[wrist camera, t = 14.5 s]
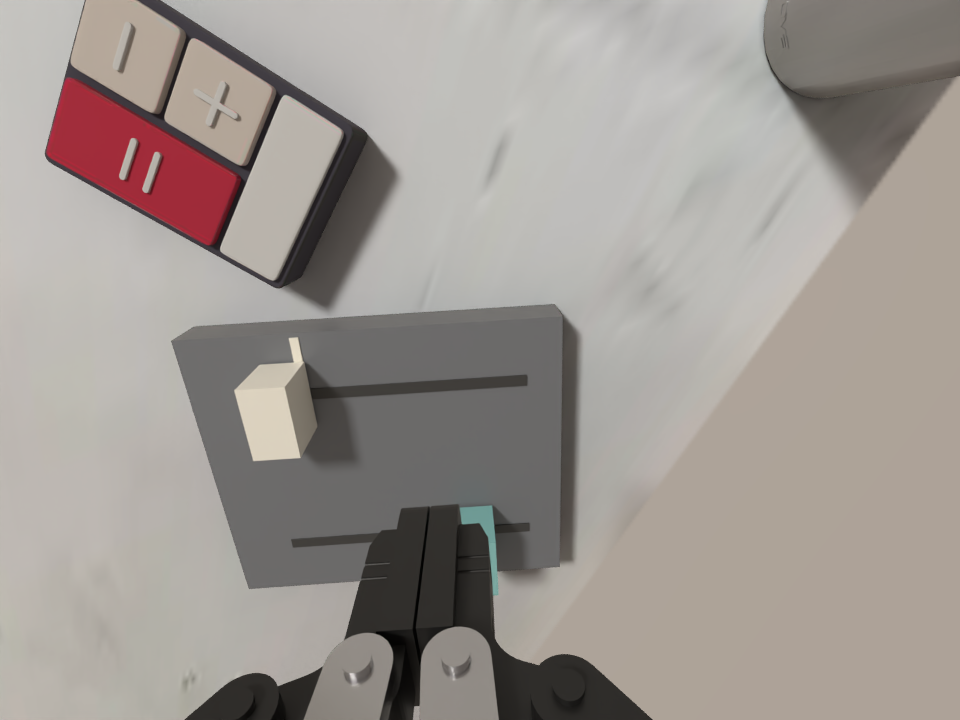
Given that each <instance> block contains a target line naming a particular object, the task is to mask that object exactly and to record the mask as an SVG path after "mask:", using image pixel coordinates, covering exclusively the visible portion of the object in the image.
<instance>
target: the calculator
mask: <svg viewBox="0 0 960 720" xmlns="http://www.w3.org/2000/svg"><path fill="white" fill-rule="evenodd" d="M366 141H367V134H366V132H365V131H364V130H363V129H362V128H360V127H359V126H357V125H356V124H354V123H353V122H351V121H349V120H348V119H346V118H345V117H343V116H342V115H340V114H338V113H337V112H335V111H334V110H332V109H331V108H329V107H327V106H326V105H324V104H323V103H321V102H320V101H318V100H316V99H315V98H313V97H312V96H310V95H308V94H307V93H305V92H303V91H302V90H300V89H298V88H297V87H295V86H294V85H292V84H291V83H289V82H287V81H286V80H284V79H283V78H281V77H280V76H278V75H277V74H275V73H273V72H272V71H270V70H269V69H267V68H266V67H264V66H262V65H261V64H259V63H258V62H256V61H255V60H253V59H251V58H250V57H248V56H247V55H245V54H244V53H242V52H241V51H239V50H237V49H236V48H234V47H233V46H231V45H230V44H228V43H226V42H225V41H223V40H222V39H220V38H219V37H217V36H215V35H214V34H212V33H211V32H209V31H208V30H206V29H205V28H203V27H201V26H200V25H198V24H197V23H195V22H194V21H192V20H190V19H189V18H187V17H186V16H184V15H183V14H181V13H179V12H178V11H176V10H175V9H173V8H172V7H170V6H169V5H167V4H165V3H164V2H162V1H161V0H85V2H84V6H83V10H82V14H81V17H80V21H79V25H78V29H77V32H76V36H75V40H74V44H73V48H72V51H71V55H70V59H69V63H68V67H67V70H66V74H65V78H64V82H63V86H62V89H61V93H60V97H59V101H58V105H57V108H56V112H55V116H54V120H53V123H52V127H51V131H50V135H49V139H48V142H47V146H46V150H45V156H46V159H47V160H48V161H49V162H50V163H52V164H53V165H55V166H57V167H59V168H60V169H62V170H64V171H66V172H68V173H69V174H71V175H73V176H75V177H77V178H78V179H80V180H82V181H84V182H86V183H87V184H89V185H91V186H93V187H95V188H96V189H98V190H100V191H102V192H104V193H105V194H107V195H109V196H111V197H113V198H114V199H116V200H118V201H120V202H122V203H123V204H125V205H127V206H129V207H131V208H132V209H134V210H136V211H138V212H140V213H141V214H143V215H145V216H147V217H149V218H150V219H152V220H154V221H156V222H158V223H159V224H161V225H163V226H165V227H167V228H168V229H170V230H172V231H174V232H176V233H177V234H179V235H181V236H183V237H185V238H186V239H188V240H190V241H192V242H194V243H195V244H197V245H199V246H201V247H203V248H204V249H206V250H208V251H210V252H212V253H213V254H215V255H217V256H219V257H221V258H222V259H224V260H226V261H228V262H230V263H231V264H233V265H235V266H237V267H239V268H240V269H242V270H244V271H246V272H248V273H249V274H251V275H253V276H255V277H257V278H258V279H260V280H262V281H264V282H266V283H267V284H269V285H271V286H273V287H275V288H282V287H284V286H285V285H287V284H289V283H291V282H293V281H295V280H297V279H298V278H300V277H301V276H302V274H303V272H304V270H305V268H306V266H307V264H308V262H309V260H310V258H311V256H312V254H313V252H314V249H315V247H316V245H317V243H318V241H319V239H320V237H321V235H322V233H323V231H324V229H325V227H326V224H327V222H328V220H329V218H330V216H331V214H332V212H333V210H334V208H335V206H336V204H337V202H338V199H339V197H340V195H341V193H342V191H343V189H344V187H345V185H346V183H347V181H348V179H349V177H350V174H351V172H352V170H353V168H354V166H355V164H356V162H357V160H358V158H359V156H360V154H361V152H362V149H363V147H364V145H365V143H366Z"/></svg>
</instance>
